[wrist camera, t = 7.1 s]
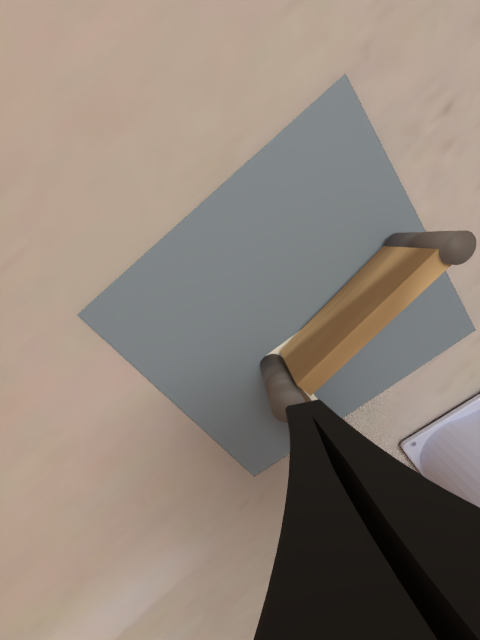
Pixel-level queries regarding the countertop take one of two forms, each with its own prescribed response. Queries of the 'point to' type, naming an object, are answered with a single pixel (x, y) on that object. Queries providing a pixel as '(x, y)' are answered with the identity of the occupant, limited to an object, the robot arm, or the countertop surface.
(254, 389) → the mat
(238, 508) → the countertop surface
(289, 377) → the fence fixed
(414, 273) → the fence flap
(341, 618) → the robot arm
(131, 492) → the countertop surface
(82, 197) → the countertop surface
